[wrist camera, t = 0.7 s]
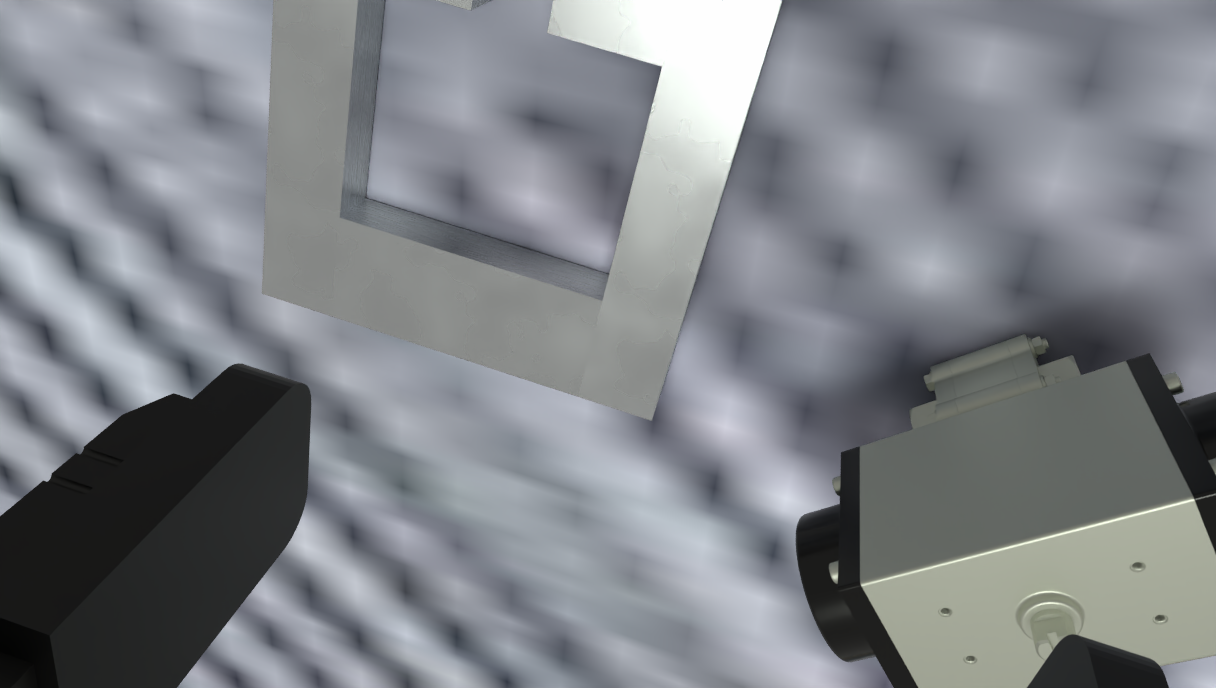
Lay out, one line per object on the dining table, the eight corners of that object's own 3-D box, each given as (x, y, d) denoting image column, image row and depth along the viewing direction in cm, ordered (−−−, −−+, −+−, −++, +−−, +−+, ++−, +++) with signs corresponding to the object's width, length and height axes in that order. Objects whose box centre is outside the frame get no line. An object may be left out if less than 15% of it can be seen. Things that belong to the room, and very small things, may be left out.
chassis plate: (316, -195, 28) (281, -196, 27) (801, -59, 27) (797, -52, 25) (289, 271, 37) (262, 293, 35) (661, 391, 35) (651, 420, 34)
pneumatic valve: (805, 388, 34) (781, 634, 24) (1159, 262, 29) (1323, 502, 19) (868, 505, 36) (872, 782, 25) (1212, 405, 31) (1389, 695, 21)
